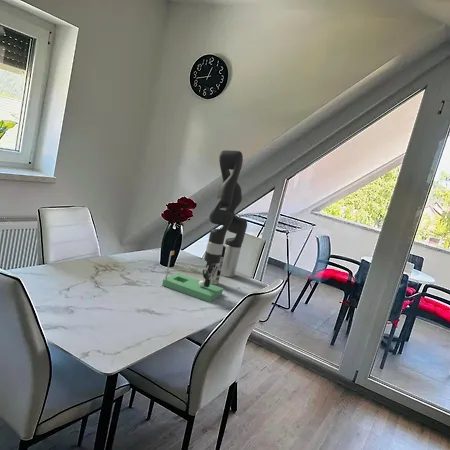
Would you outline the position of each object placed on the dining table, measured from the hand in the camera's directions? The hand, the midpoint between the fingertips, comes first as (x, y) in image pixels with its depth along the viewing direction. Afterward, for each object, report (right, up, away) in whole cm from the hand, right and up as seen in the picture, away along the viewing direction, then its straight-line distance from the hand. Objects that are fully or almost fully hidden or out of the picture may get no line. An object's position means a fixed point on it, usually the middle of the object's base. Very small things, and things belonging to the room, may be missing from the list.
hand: (206, 286), depth 200 cm
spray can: (+2, -1, +20) cm, 20 cm away
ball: (-2, +1, +1) cm, 3 cm away
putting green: (-7, -2, +3) cm, 8 cm away
